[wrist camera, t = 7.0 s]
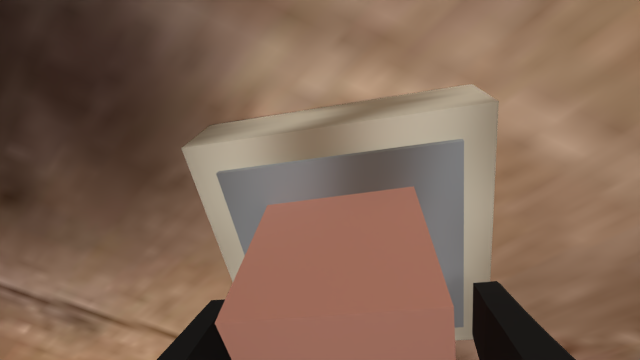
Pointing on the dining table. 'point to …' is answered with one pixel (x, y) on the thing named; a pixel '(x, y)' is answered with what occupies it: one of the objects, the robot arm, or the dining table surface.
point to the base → (363, 172)
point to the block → (340, 284)
